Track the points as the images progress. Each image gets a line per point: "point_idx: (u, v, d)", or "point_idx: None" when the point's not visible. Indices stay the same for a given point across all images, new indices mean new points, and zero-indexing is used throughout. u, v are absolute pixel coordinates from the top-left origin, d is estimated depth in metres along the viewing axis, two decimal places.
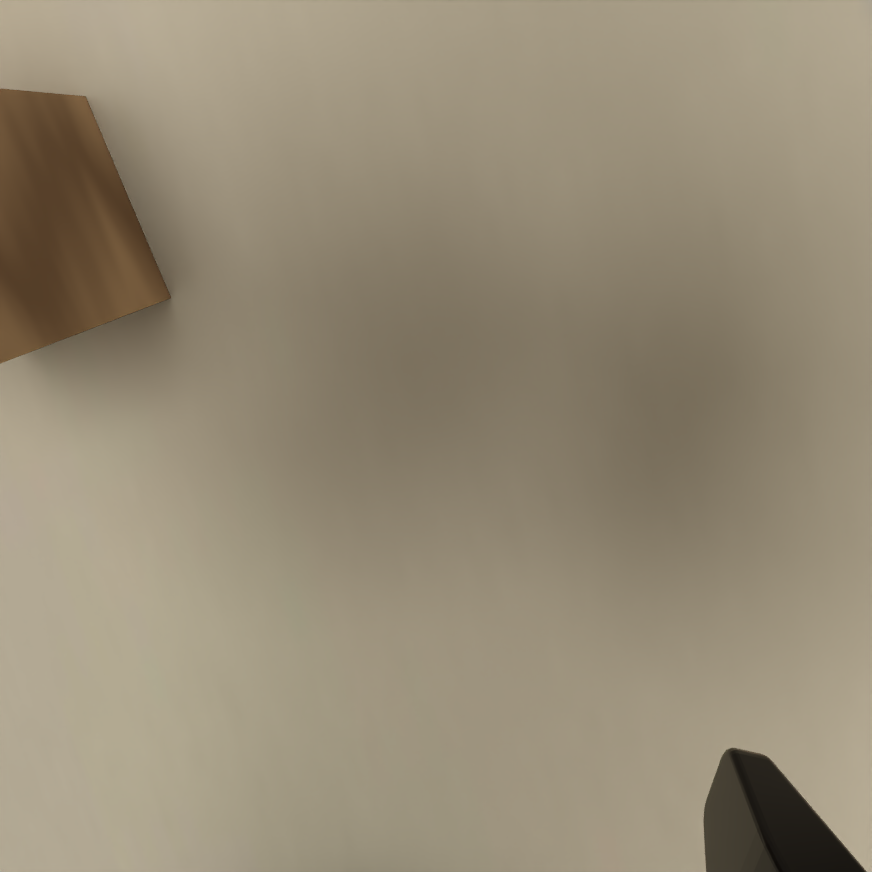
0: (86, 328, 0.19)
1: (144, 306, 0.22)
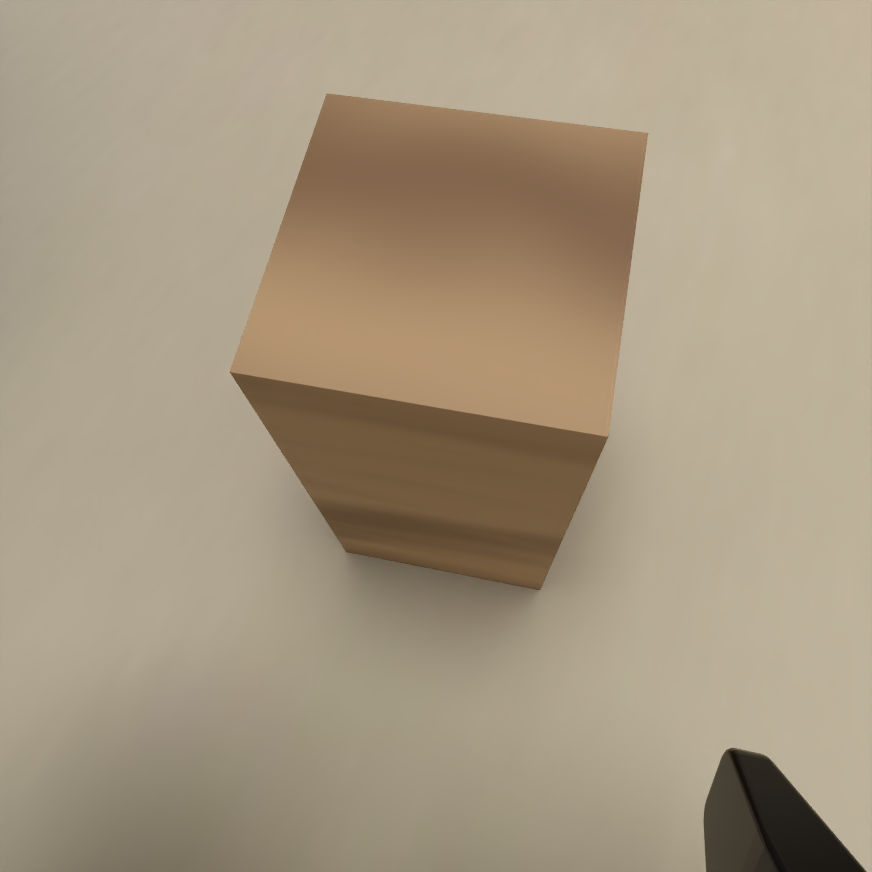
0: (555, 554, 0.18)
1: (544, 578, 0.21)
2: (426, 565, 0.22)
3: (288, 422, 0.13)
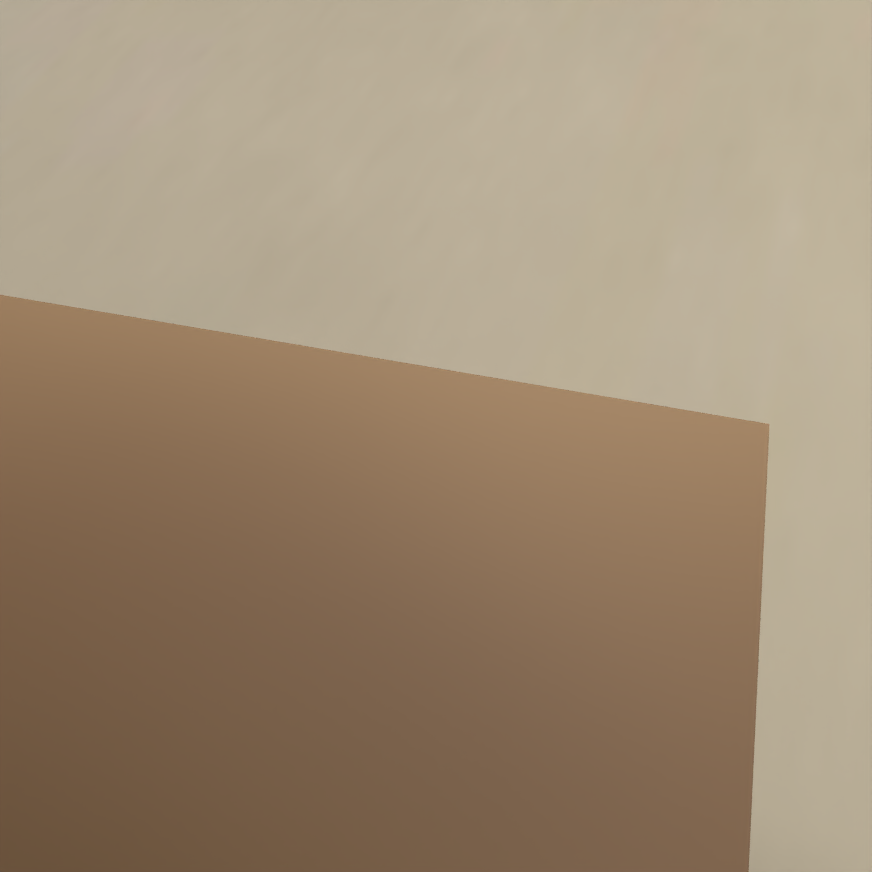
0: None
1: None
2: None
3: None
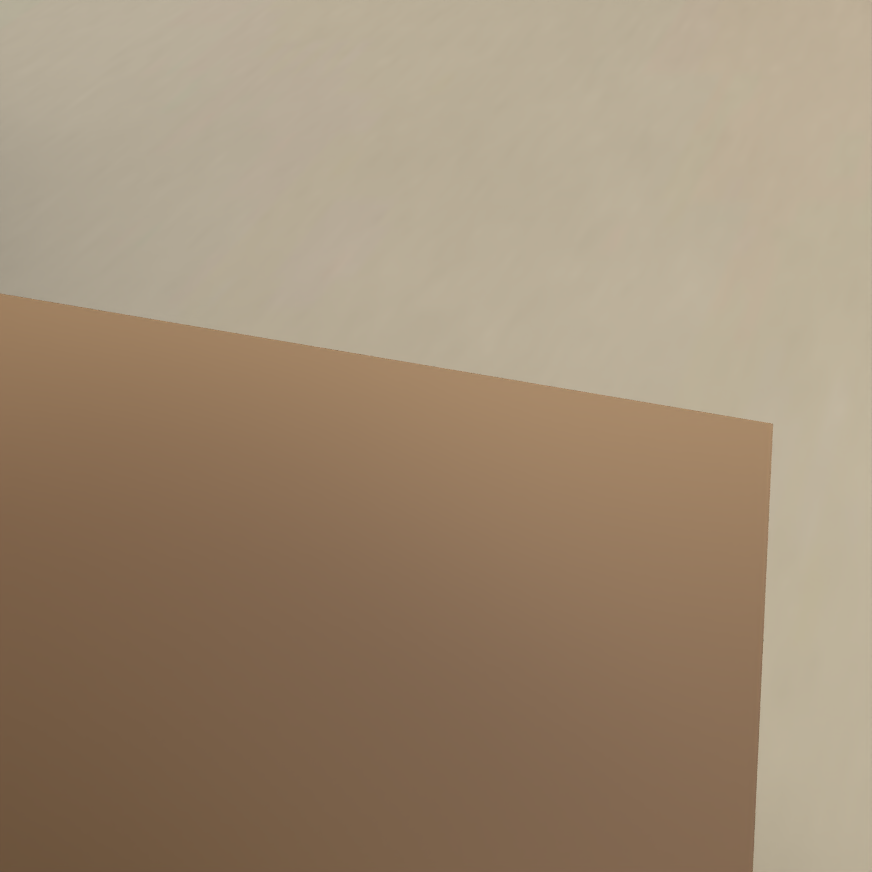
0: None
1: None
2: None
3: None
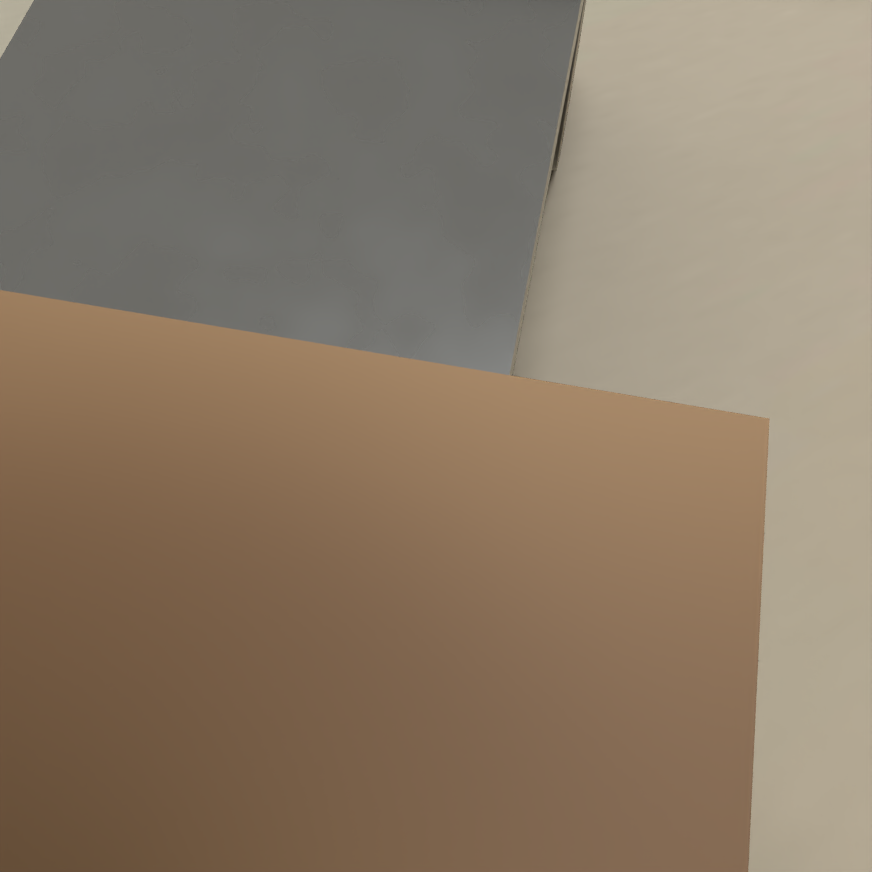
0: None
1: None
2: None
3: None
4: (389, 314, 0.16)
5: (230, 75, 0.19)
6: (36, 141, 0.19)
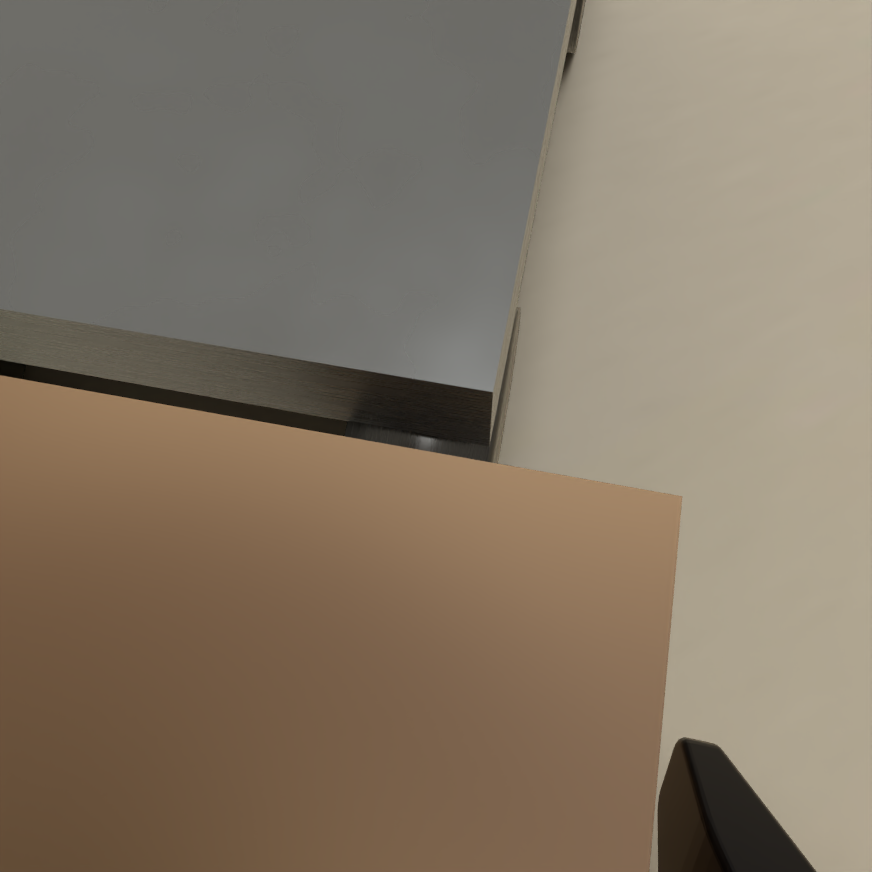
0: None
1: None
2: None
3: None
4: (358, 150, 0.12)
5: None
6: None
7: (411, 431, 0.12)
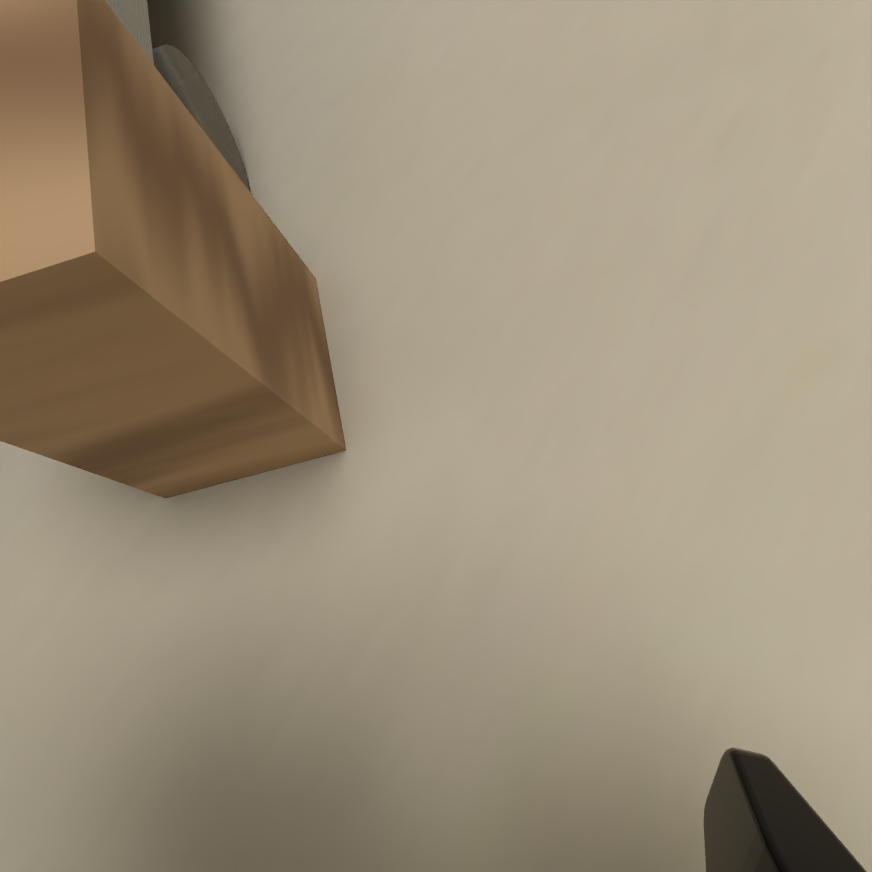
0: (291, 405, 0.18)
1: (329, 435, 0.21)
2: (236, 476, 0.23)
3: None
4: None
5: None
6: None
7: None
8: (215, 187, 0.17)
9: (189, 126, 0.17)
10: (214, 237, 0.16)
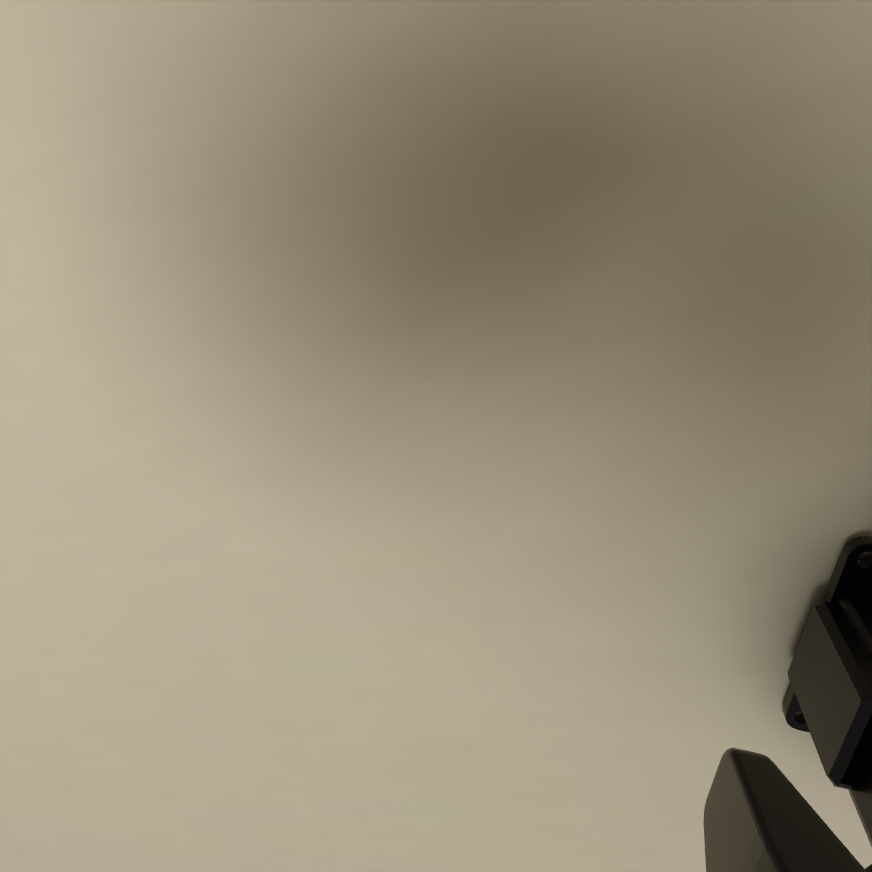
0: None
1: None
2: None
3: None
4: None
5: None
6: None
7: None
8: None
9: None
10: None
